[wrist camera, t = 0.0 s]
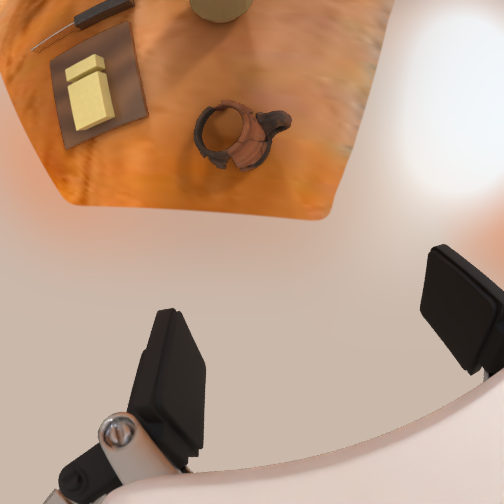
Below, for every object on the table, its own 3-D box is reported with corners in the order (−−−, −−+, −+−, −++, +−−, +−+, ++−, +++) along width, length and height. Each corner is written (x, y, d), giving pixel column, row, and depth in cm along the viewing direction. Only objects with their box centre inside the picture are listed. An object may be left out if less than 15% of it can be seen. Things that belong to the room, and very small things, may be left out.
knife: (38, 47, 24) (29, 45, 21) (133, -3, 23) (128, -10, 21) (39, 56, 25) (30, 54, 22) (134, 6, 24) (129, 0, 22)
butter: (77, 87, 28) (67, 86, 25) (106, 73, 28) (97, 70, 25) (86, 129, 31) (76, 130, 28) (115, 116, 31) (106, 116, 28)
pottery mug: (230, 185, 39) (200, 179, 31) (209, 130, 39) (178, 115, 31) (308, 150, 34) (296, 133, 26) (281, 94, 34) (262, 67, 27)
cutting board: (53, 62, 26) (49, 61, 25) (130, 22, 26) (128, 20, 24) (69, 149, 33) (65, 150, 32) (149, 115, 33) (146, 115, 32)
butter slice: (75, 72, 27) (65, 69, 24) (103, 57, 27) (94, 53, 24) (76, 83, 28) (66, 81, 25) (105, 69, 28) (96, 65, 25)
